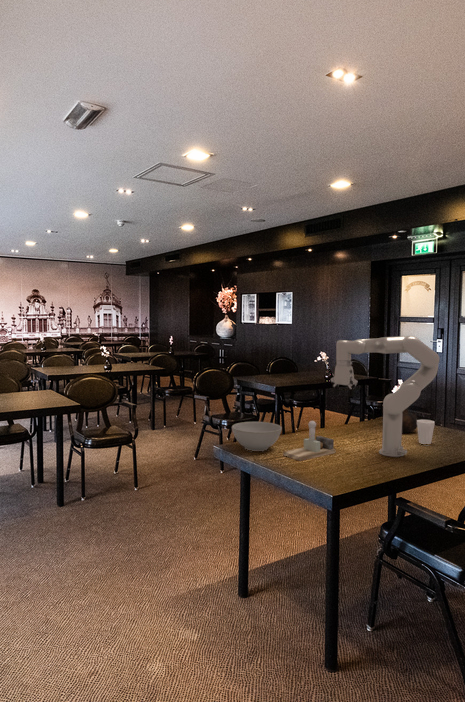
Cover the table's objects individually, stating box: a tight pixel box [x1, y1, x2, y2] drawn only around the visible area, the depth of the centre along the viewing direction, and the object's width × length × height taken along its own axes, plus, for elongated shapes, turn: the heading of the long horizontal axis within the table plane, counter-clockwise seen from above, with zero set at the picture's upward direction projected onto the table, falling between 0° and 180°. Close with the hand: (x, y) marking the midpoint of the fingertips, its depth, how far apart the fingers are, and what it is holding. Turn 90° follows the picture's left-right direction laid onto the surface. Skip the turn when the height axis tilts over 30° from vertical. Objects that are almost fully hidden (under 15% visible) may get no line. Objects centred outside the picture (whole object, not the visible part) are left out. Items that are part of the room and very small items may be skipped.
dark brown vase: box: [402, 407, 419, 434], centre depth 311 cm, size 18×18×28 cm
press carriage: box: [303, 420, 320, 452], centre depth 257 cm, size 9×4×15 cm, turn 37°
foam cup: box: [416, 419, 436, 445], centre depth 280 cm, size 10×9×13 cm
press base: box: [282, 435, 337, 462], centre depth 256 cm, size 12×26×7 cm, turn 127°
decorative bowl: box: [231, 421, 283, 452], centre depth 266 cm, size 27×27×12 cm
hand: (343, 395), depth 264 cm, fingers open, 9 cm apart
